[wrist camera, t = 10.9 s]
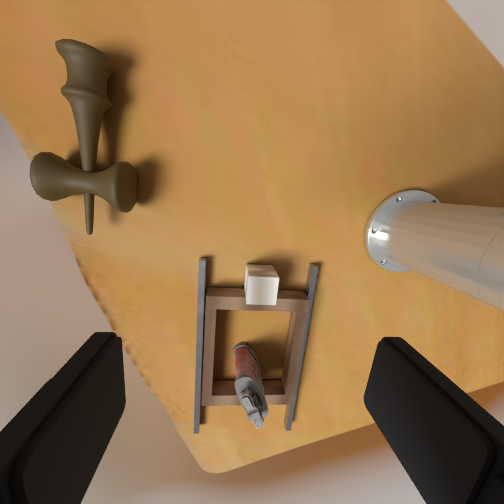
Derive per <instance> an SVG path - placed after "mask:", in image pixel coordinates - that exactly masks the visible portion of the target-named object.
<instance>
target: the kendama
mask: <svg viewBox="0 0 504 504" xmlns="http://www.w3.org/2000/svg"><path fill="white" fill-rule="evenodd" d="M55 45H56V49H57V52H58V53H59V54H60V55H61V56H62V58H63V59H64V61H65V63H66V67H67V82H66V84H65V85H64V86H63V87H62V88H61V93H62V95H64V96H65V97H66V98H67V100H68V101H69V103H70V105H71V108H72V111H73V115H74V119H75V124H76V129H77V135H78V141H79V147H80V155H81V163H82V169H79V168H77V167H75V166H73V165H72V164H70V163H69V162H67V161H66V160H65V159H63V158H62V157H60V156H58V155H55V154H53V153H51V152H40V153H39V154H37V155H35V156H34V158H33V160H32V162H31V164H30V179H31V183H32V187H33V188H34V190H35V192H36V194H37V195H39V196H40V197H42V198H43V199H46V200H50V201H56V200H60V199H64V198H66V197H69V196H71V195H74V194H78V193H84V202H85V219H86V229H87V233H88V234H89V235H91V234H92V232H93V220H94V195H97V196H100V197H102V198H103V199H104V200H106V201H107V202H108V203H110V204H111V205H112V206H113V207H114V208H116V209H117V210H119V211H121V212H129V211H131V210H132V208H133V207H134V205H135V203H136V200H137V194H138V179H137V175H136V171H135V170H134V168H133V166H132V165H131V164H130V163H128V162H120V163H117V164H115V165H113V166H111V167H109V168H108V169H106V170H103V171H100V172H95V169H96V158H97V149H98V141H99V135H100V129H101V124H102V119H103V116H104V113H105V112H106V111H107V110H109V109H110V108H111V107H112V104H111V102H110V101H109V99H108V97H107V82H108V78H109V77H110V76H111V75H112V74H113V73H114V71H115V65H114V63H113V62H112V60H111V59H110V58H109V57H108V56H107V55H106V54H105V53H103V52H101V51H100V50H98V49H96V48H94V47H92V46H90V45H88V44H86V43H82V42H79V41H76V40H71V39H61V40H58V41H56V42H55Z"/></svg>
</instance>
